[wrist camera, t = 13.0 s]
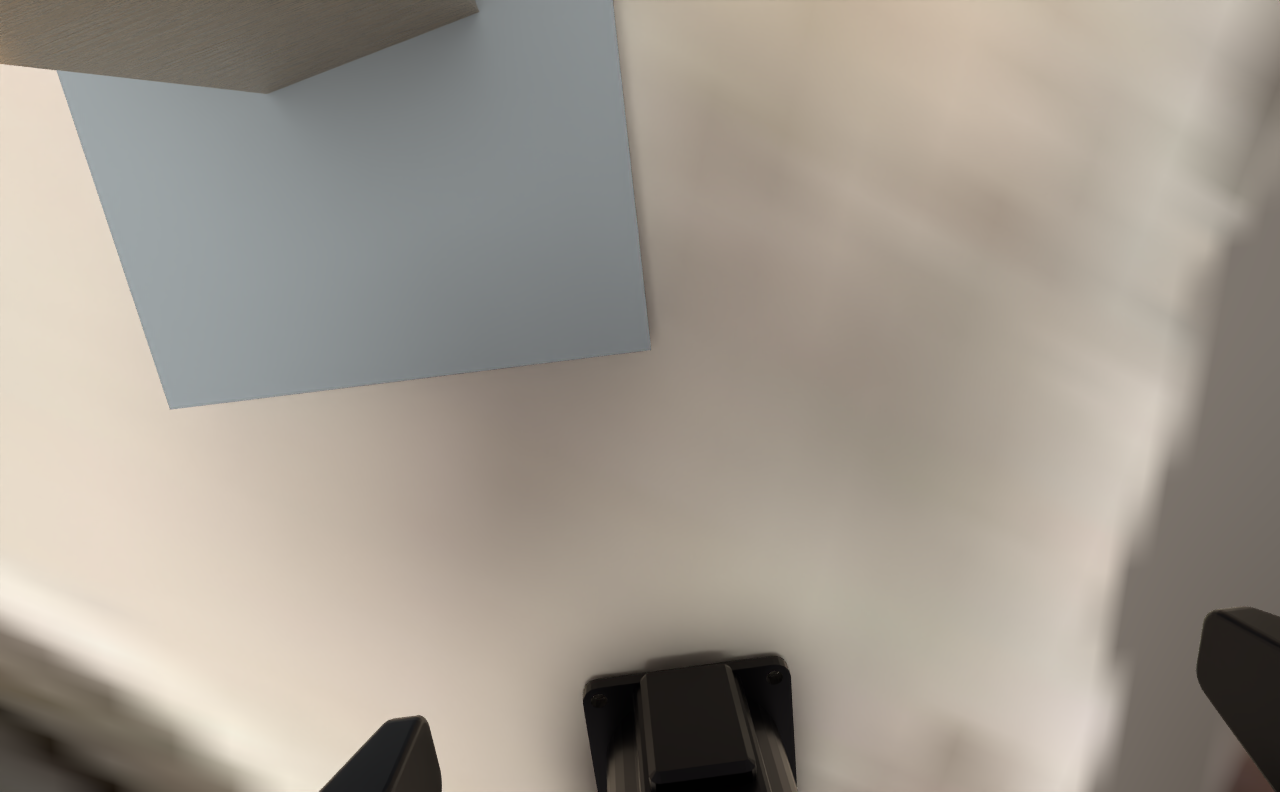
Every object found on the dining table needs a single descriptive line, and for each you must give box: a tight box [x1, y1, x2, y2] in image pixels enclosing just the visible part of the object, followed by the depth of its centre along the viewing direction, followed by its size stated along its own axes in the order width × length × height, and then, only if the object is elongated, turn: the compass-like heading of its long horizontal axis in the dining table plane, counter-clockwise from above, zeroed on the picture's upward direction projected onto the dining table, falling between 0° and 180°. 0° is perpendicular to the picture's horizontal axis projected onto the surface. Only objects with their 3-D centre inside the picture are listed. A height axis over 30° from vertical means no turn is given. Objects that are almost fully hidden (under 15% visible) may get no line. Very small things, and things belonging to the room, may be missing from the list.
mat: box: [57, 0, 651, 409], centre depth 18 cm, size 14×12×2 cm
